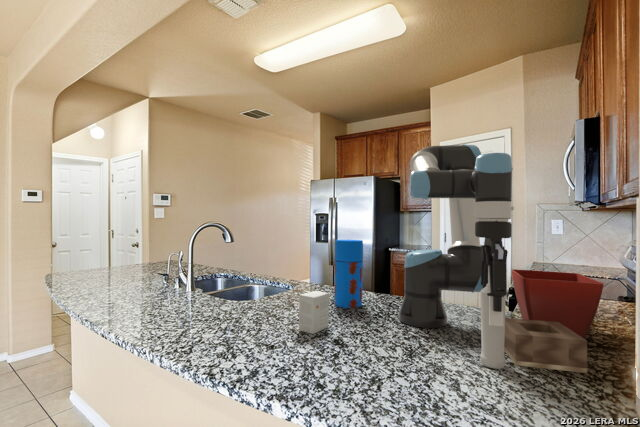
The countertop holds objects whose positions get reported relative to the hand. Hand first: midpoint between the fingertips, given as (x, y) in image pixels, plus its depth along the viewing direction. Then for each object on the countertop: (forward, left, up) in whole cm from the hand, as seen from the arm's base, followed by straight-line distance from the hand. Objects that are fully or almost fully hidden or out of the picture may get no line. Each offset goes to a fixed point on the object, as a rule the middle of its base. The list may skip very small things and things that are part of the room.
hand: (492, 321), depth 76 cm
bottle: (0, 0, -10) cm, 10 cm away
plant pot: (+24, +32, -10) cm, 41 cm away
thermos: (-41, +44, -10) cm, 61 cm away
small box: (-46, +12, -10) cm, 49 cm away
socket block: (+12, +8, -10) cm, 17 cm away
